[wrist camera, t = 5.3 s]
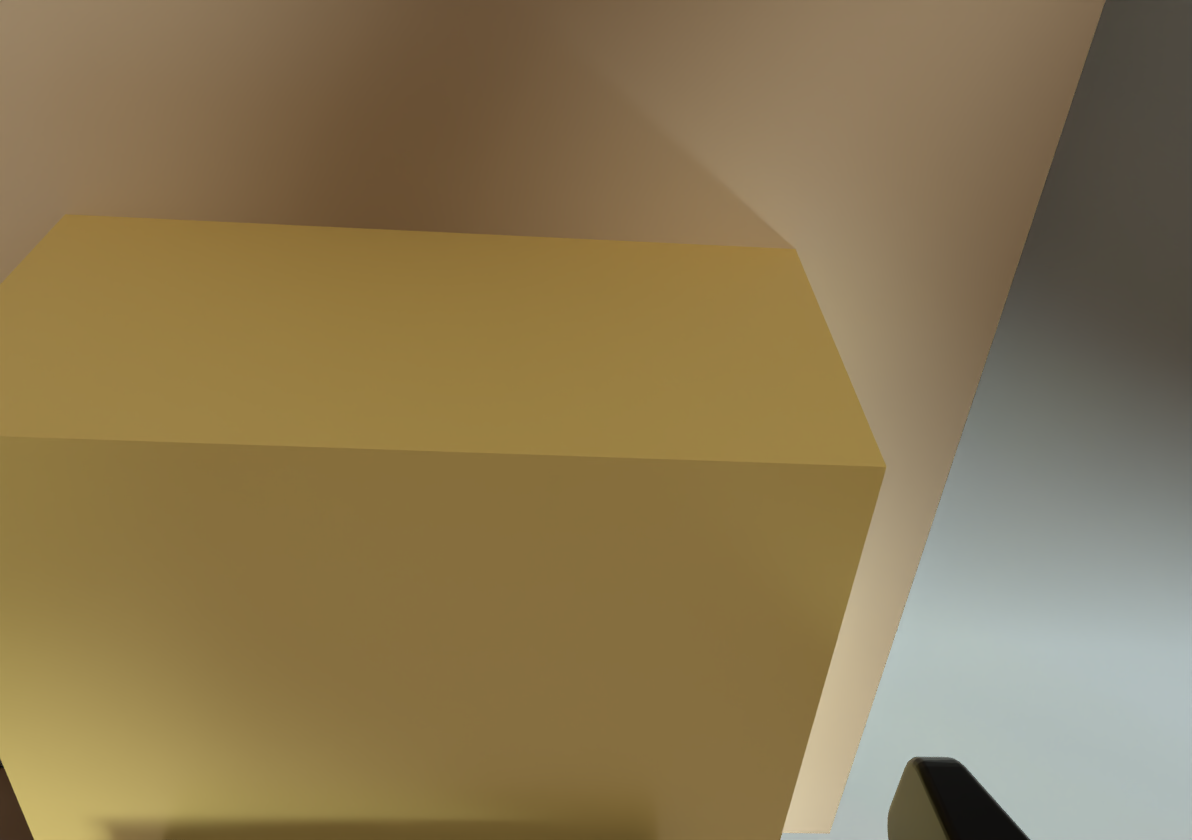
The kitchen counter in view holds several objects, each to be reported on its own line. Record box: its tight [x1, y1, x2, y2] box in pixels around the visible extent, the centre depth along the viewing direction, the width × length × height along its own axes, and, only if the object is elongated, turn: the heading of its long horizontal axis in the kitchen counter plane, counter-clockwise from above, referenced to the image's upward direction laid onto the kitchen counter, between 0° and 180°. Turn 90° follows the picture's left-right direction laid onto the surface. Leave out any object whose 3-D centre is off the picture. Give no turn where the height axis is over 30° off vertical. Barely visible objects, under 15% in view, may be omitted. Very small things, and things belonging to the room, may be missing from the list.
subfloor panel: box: [0, 0, 1105, 833], centre depth 9 cm, size 10×15×1 cm, turn 176°
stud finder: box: [0, 214, 886, 840], centre depth 10 cm, size 6×8×4 cm
